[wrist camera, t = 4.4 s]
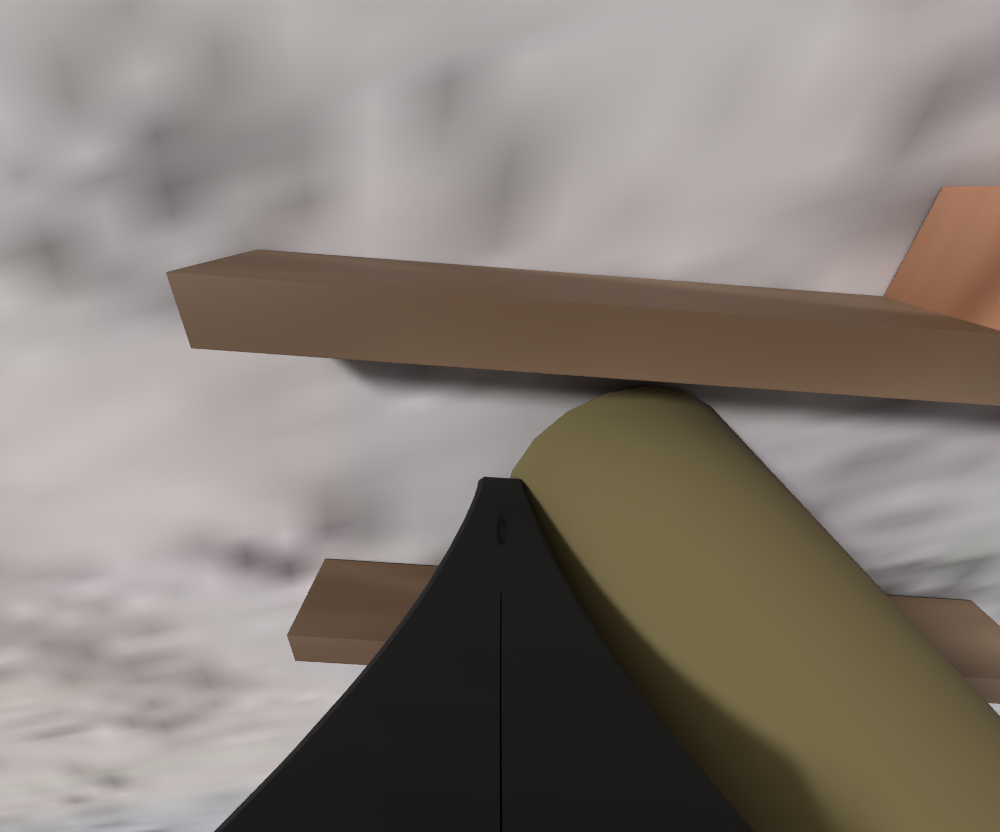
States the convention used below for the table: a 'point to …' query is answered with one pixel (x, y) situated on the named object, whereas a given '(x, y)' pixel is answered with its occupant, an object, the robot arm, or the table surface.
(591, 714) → the robot arm
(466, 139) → the table surface
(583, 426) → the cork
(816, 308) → the guide channel
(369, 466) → the table surface
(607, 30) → the table surface
